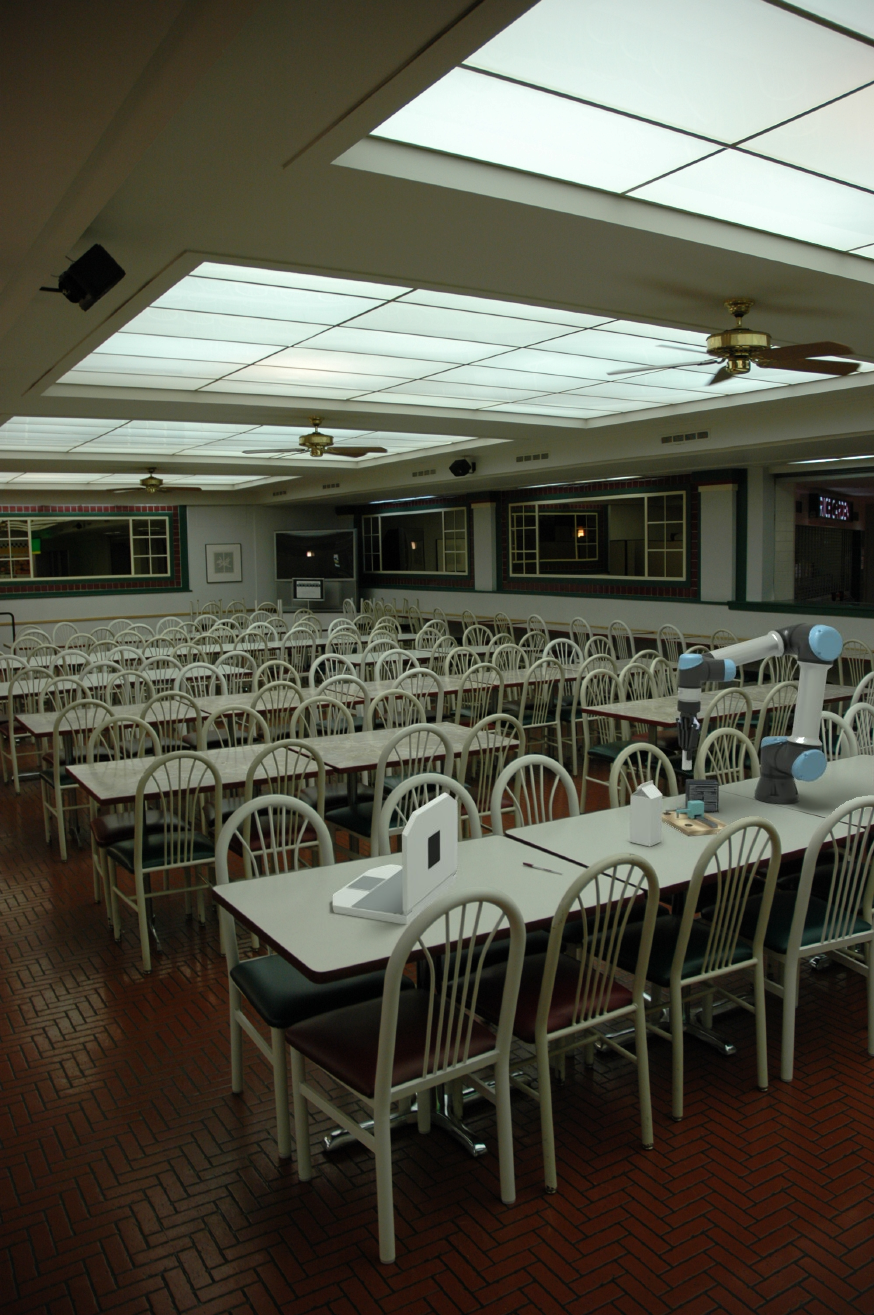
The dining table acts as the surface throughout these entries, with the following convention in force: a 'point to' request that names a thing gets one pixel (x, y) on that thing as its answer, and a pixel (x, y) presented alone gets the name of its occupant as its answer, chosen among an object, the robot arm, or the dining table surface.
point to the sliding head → (693, 809)
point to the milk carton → (646, 815)
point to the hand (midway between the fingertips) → (686, 769)
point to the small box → (703, 793)
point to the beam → (697, 818)
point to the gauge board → (691, 824)
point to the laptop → (409, 869)
